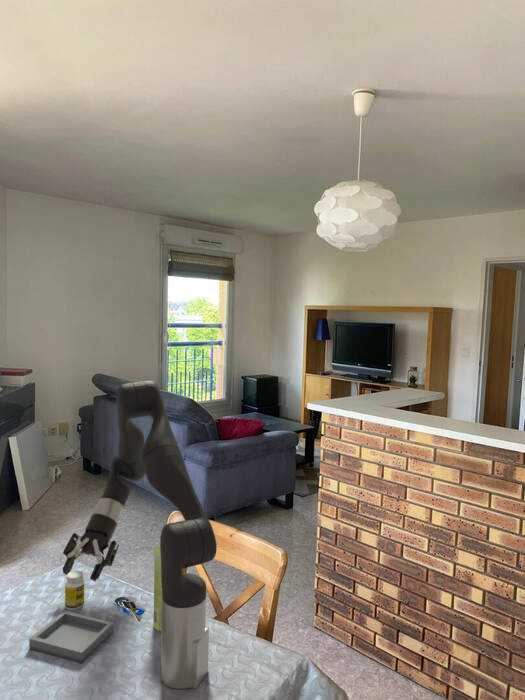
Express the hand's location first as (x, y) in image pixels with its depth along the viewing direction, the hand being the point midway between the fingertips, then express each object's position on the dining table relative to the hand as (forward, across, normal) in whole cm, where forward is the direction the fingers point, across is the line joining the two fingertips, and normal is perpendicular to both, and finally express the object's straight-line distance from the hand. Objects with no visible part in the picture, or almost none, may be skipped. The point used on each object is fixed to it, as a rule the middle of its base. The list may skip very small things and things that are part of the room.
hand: (78, 576), depth 139 cm
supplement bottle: (+6, 0, +4) cm, 7 cm away
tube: (+6, +26, +4) cm, 27 cm away
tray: (+15, +9, -5) cm, 18 cm away
